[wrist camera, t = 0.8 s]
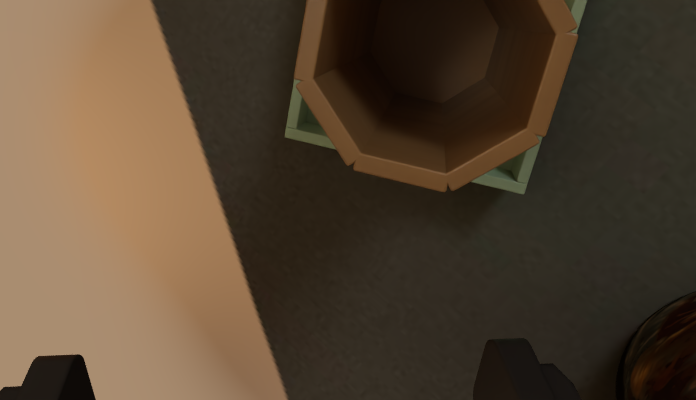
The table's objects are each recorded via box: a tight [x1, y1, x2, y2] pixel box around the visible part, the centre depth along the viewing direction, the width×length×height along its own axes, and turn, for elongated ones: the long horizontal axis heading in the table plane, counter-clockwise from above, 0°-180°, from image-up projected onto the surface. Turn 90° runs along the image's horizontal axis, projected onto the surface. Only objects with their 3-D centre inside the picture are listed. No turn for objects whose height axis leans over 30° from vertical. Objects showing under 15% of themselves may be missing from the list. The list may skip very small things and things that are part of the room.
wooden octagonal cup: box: [294, 0, 578, 192], centre depth 19 cm, size 6×6×13 cm
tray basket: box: [285, 0, 587, 194], centre depth 25 cm, size 11×11×3 cm
